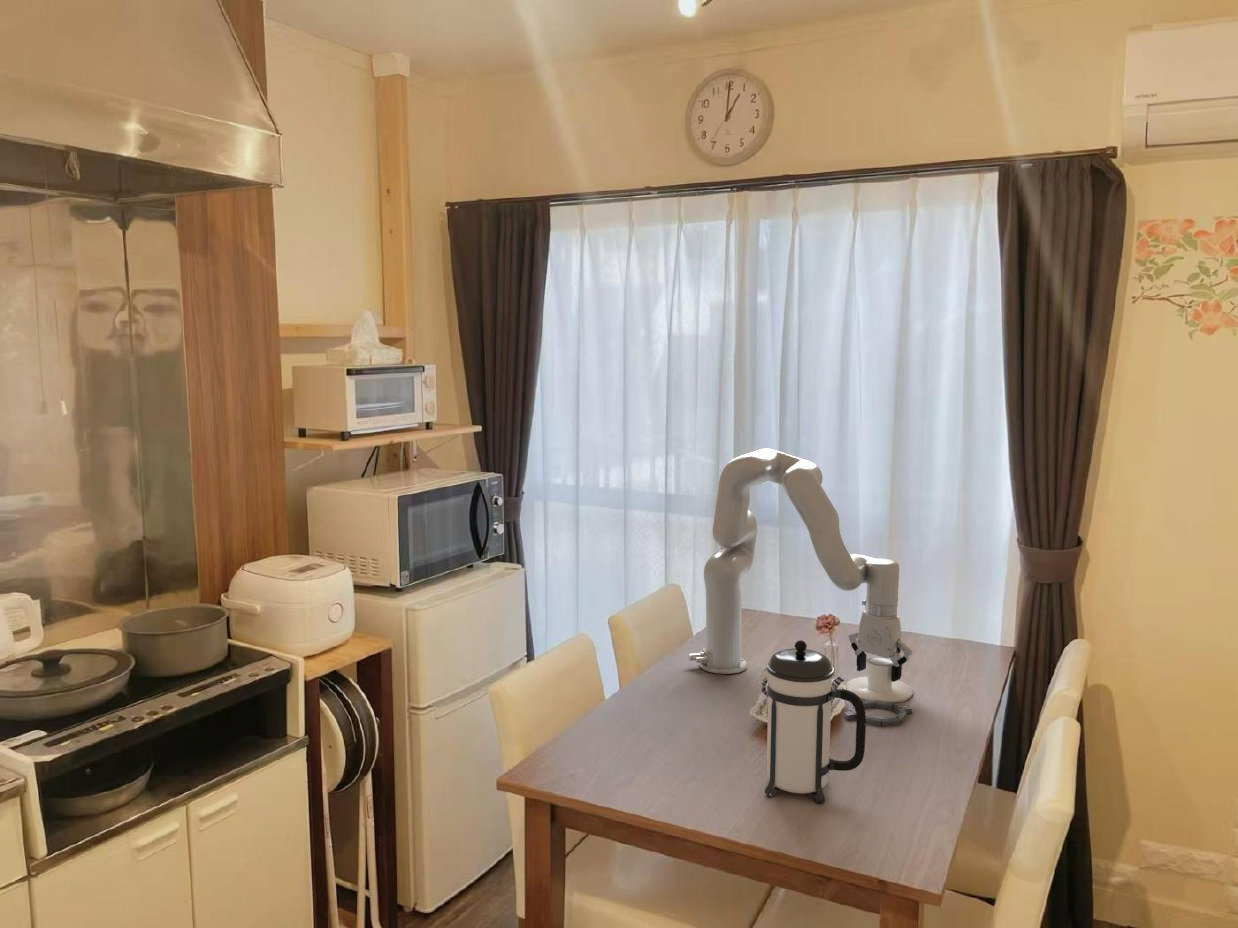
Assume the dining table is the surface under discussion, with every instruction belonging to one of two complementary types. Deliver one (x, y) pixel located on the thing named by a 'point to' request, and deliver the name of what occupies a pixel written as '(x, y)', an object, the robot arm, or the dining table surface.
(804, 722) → the coffee press
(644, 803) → the dining table surface
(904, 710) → the collar
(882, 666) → the white cup
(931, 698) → the dining table surface
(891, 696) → the saucer
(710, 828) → the dining table surface
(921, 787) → the dining table surface
